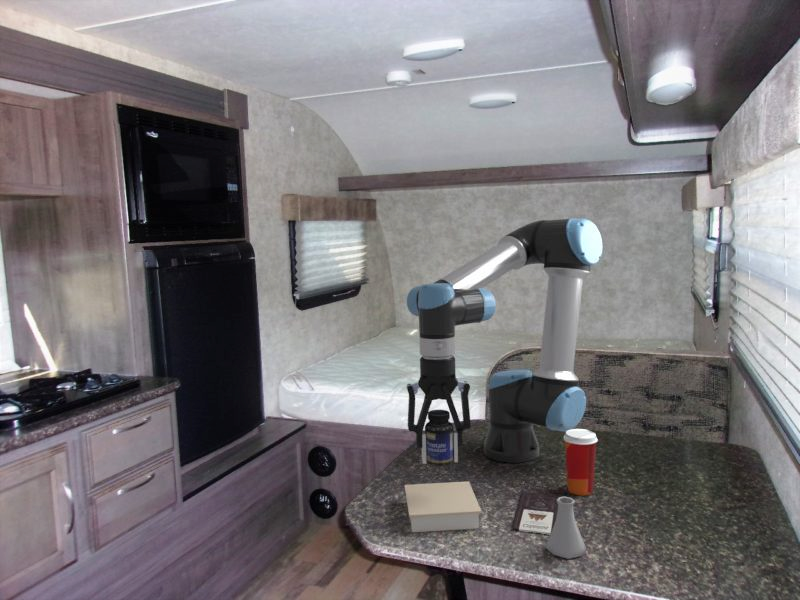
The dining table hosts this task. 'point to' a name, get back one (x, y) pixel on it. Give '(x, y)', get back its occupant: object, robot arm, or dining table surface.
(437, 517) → the podium
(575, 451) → the paper cup
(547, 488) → the dining table surface
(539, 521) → the chocolate bar
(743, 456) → the dining table surface
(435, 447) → the pill bottle
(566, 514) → the flask
